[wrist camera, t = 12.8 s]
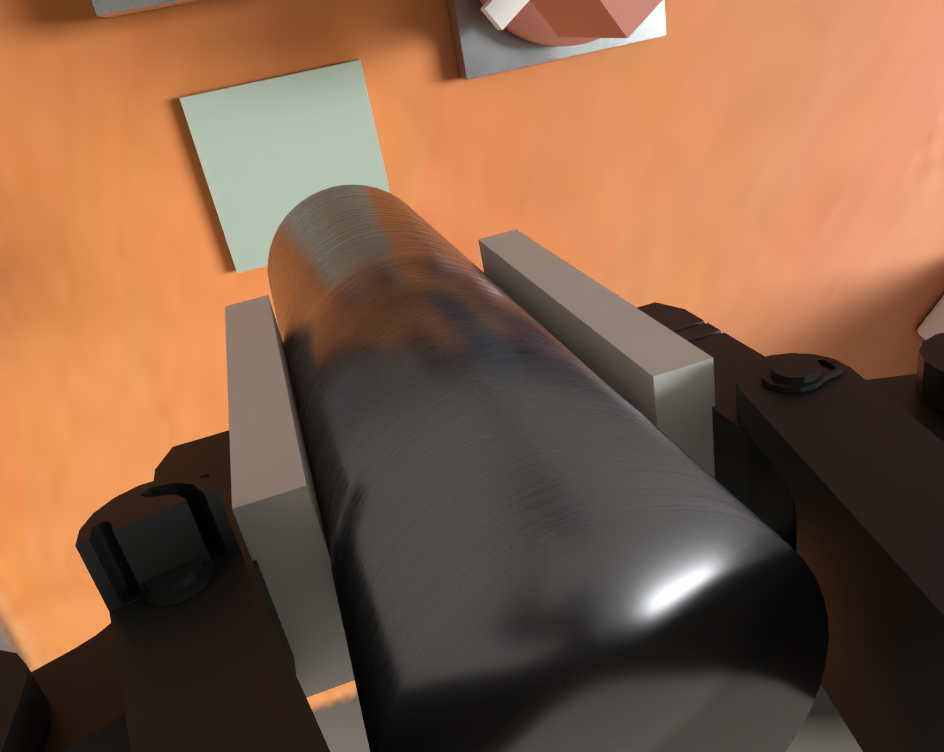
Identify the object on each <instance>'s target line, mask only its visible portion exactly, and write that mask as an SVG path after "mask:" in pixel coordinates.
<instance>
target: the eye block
mask: <svg viewBox="0 0 944 752" xmlns="http://www.w3.org/2000/svg"><path fill="white" fill-rule="evenodd" d="M91 1H92V4H93V7H94V9H95V12H96V15H97V16H100V17H108V18H111V17H116V16H122V15H127V14H132V13H138V12H143V11H148V10H153V9H159V8H164V7H169V6H175V5H180V4H185V3H190V2H196V1H201V0H91Z"/></svg>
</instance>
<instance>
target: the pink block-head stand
mask: <svg viewBox="0 0 944 752" xmlns="http://www.w3.org/2000/svg"><path fill="white" fill-rule="evenodd" d="M662 1H663V0H480V2H481V3H482V4H483V6H482V8H481V11H482V12H483V13H484V14H485V16H486V17H487V18H488V19H489V20H490V22H491V23H492V24H493V25H494V26H495V28H496V29H497V30H503V29H504V28H505V29H506V30H508V31H509V32H511V33H513V34H514V35H516V36H518V37H520V38H522V39H524V40H527V41H529V42H533V43H537V44H541V45H550V46H575V45H580V44H585V43H589V42H591V41H594V40H597V39H599V38H628V37H629V36H630V35H631V34H632V33H633V32H634V31H635V30H636V29H637V28H638V27H639V26H640V25H641V23H642V22H643V21H644V20H645V19H646V18H647V17H648V16H649V15H650V14H651V13H652V12H653V11H654V10H655V8H656V7H657V6H658V5H659V4H660V3H661V2H662Z"/></svg>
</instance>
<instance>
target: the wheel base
mask: <svg viewBox="0 0 944 752" xmlns="http://www.w3.org/2000/svg"><path fill="white" fill-rule="evenodd" d="M447 4H448V10H449V15H450V21H451V27H452V33H453V39H454V45H455V50H456V56H457V62H458V68H459V74H460V78H462V79H472V78H476V77H481V76H485V75H490V74H494V73H499V72H503V71H508V70H512V69H516V68H521V67H525V66H530V65H534V64H539V63H543V62H548V61H552V60H557V59H561V58H566V57H570V56H575V55H579V54H584V53H588V52H593V51H597V50H602V49H606V48H611V47H615V46H620V45H624V44H629V43H633V42H638V41H642V40H647V39H651V38H656V37H660V36H665V35H666V20H665V2H664V0H663V1H662V2H661V3H660V4H659V5H658V6H657V7H656V8H655V10H654V11H653V12H652V13H651V14H650V15H649V16H648V17H647V18H646V19H645V20H644V21H643V22H642V23H641V25H640V26H639V27H638V28H637V29H636V30H635V31H634V32H633V33H632V34H631V35H630V36H629V37H628V38H599V39H597V40H594V41H591V42H589V43H585V44H580V45H575V46H550V45H541V44H537V43H533V42H529V41H527V40H524V39H522V38H520V37H518V36H516V35H514V34H513V33H511V32H509V31H508V30H506V29H505V28H504V29H503V30H497V29H496V28H495V26H494V25H493V24H492V23H491V22H490V20H489V19H488V18H487V17H486V16H485V14H484V13H483V12H482V11H481V8H482V6H483V4H482V3H481V2H480V0H447Z"/></svg>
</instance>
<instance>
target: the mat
mask: <svg viewBox="0 0 944 752" xmlns="http://www.w3.org/2000/svg"><path fill="white" fill-rule="evenodd" d="M179 99H180V102H181V105H182V108H183V111H184V114H185V117H186V120H187V123H188V126H189V129H190V132H191V135H192V138H193V141H194V144H195V147H196V150H197V153H198V156H199V159H200V162H201V166H202V169H203V172H204V175H205V178H206V181H207V184H208V187H209V190H210V193H211V196H212V199H213V202H214V205H215V208H216V211H217V214H218V217H219V220H220V223H221V226H222V229H223V232H224V235H225V238H226V241H227V244H228V247H229V250H230V253H231V256H232V259H233V263H234V266H235V269H236V272H237V273H241V272H245V271H249V270H253V269H256V268H260V267H264V266H268V256H269V251H270V246H271V243H272V240H273V237H274V235H275V233H276V231H277V229H278V227H279V225H280V224H281V223H282V221H283V220H284V218H285V217H286V216H287V215H288V213H289V212H290V211H291V210H292V209H293V208H294V207H295V206H297V205H298V204H299V203H300V202H301V201H303V200H304V199H306V198H307V197H309V196H311V195H313V194H315V193H317V192H319V191H321V190H324V189H327V188H330V187H335V186H340V185H366V186H370V187H375V188H378V189H381V190H384V191H386V192H388V193H390V190H389V185H388V181H387V176H386V172H385V168H384V163H383V159H382V154H381V150H380V145H379V141H378V136H377V132H376V127H375V123H374V118H373V114H372V110H371V105H370V101H369V96H368V92H367V87H366V83H365V78H364V74H363V69H362V65H361V61H360V60H354V61H349V62H345V63H340V64H335V65H330V66H326V67H321V68H316V69H312V70H307V71H302V72H297V73H293V74H288V75H283V76H278V77H274V78H269V79H264V80H260V81H255V82H250V83H245V84H241V85H236V86H231V87H226V88H222V89H217V90H212V91H208V92H203V93H198V94H193V95H189V96H184V97H180V98H179Z"/></svg>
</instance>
